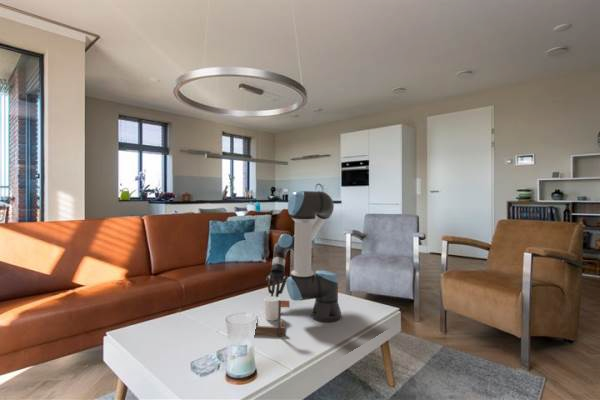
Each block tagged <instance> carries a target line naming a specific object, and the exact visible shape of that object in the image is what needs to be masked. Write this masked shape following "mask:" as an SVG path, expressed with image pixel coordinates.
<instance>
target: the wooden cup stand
mask: <svg viewBox="0 0 600 400" xmlns="http://www.w3.org/2000/svg"><path fill="white" fill-rule="evenodd" d="M282 308H290V300H281V299H280V300H279V301H278V319H277V321H278V322H277V323H278V325H277V326H272V325H271V326H268V325H267V326H265V325H264V326H263V325H259V318H258V319H257V323H256V329H255V335H254V336H276V337H277V336H278V338H280V337H285V336H286V326H284V318H282V317H281V314H282V313H281V311H282V310H281V309H282Z"/></svg>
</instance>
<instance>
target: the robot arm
mask: <svg viewBox="0 0 600 400" xmlns="http://www.w3.org/2000/svg"><path fill="white" fill-rule="evenodd" d="M334 208H335V205H334V201H333V199H332V196H330V195H329V194H328V193H326V192H324V191H321V190H320V191H319V190H318V191H314V190H313V191H312V190H311V191H309V190H308V191H307V190H305V191H304V190H297V191H293V192H292V193H291V194H290V196H289V198H288V202H287V212H288V214H289V215H290V216H291V219H292V221H294V236H291V235H290V234H288V233H283V234H281V235H280V237H279V238H278V241H277V243H275V244H274V246H273V254H272V255H273V256H272V263H271V269H270V273H269V275H265V280H266V282H267V290H268V294H270V296H275V297H279V295H282V294H283V291H284V288H285V286H286V290H287V293H288V295H289V297H290V299H291V300H292V301H295V302H296V301H297V302H298V301H306V300H307V301H308V300H313V299H315V300H314V302H315V303H314V304H313V307H312V310H311V317H312V319H314V320H315V321H318V322H323V323H333V322H332V321H334V322H337V320H338V321H340V320H341V319H342V312H341V306H340V304H339V276H338V274H337V273H335V272H333V271H329V270H318V269H317V270H316V271H315V273H314V271H313V270H312V249H313V248H314V247H315V243H316V242H315V237H316V236H317V234H318V233H319V231H320V230H321V228H322V226H324V223H325V222H326V220H328V219H330V218H331V216H332V215H333V212H334ZM288 251H294V252H293V255H294V256H293V269H292V270H291V271H290V276H285V267H286V258H287V253H288ZM270 280H271V281H272V286H271V283H270ZM281 281H282V283H281ZM280 285H281V286H280ZM275 288H276V289H275ZM340 318H341V319H340Z"/></svg>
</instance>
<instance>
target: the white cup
mask: <svg viewBox="0 0 600 400" xmlns="http://www.w3.org/2000/svg"><path fill="white" fill-rule="evenodd" d="M279 300H281V298H280V296H278V297H275V296H271V295H270V296H266V297H264V299H263V301H264V302H263V303H264V304H263V305H264V319H265V320H267V321H272V322H273V321H278V301H279Z"/></svg>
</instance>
